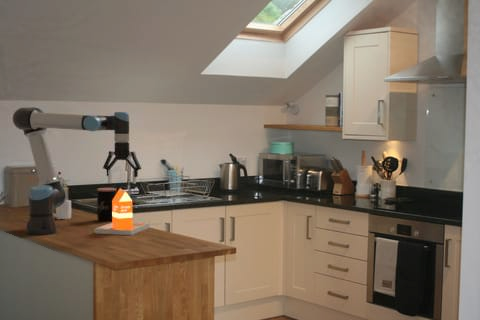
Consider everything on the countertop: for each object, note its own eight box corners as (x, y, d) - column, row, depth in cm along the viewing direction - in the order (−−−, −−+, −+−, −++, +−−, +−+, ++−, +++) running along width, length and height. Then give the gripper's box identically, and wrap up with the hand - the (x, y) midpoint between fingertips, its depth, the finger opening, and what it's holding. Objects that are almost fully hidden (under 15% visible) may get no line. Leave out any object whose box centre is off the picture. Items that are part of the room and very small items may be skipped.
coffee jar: (93, 220, 392) (93, 188, 391) (109, 218, 400) (108, 187, 399) (105, 222, 385) (104, 190, 384) (120, 220, 393) (120, 188, 392)
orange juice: (118, 230, 354) (118, 191, 353) (112, 227, 362) (111, 189, 360) (132, 228, 358) (132, 190, 357) (126, 226, 366) (125, 188, 364)
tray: (131, 235, 346) (131, 230, 346) (94, 233, 351) (94, 228, 351) (149, 227, 369) (149, 223, 369) (114, 225, 374) (114, 221, 374)
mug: (53, 220, 391) (53, 202, 390) (47, 218, 397) (47, 201, 396) (73, 218, 398) (73, 200, 397) (67, 217, 404) (67, 199, 404)
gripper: (147, 142, 357) (147, 183, 359) (102, 141, 364) (103, 181, 365) (141, 142, 350) (141, 184, 351) (96, 141, 356) (96, 182, 358)
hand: (122, 183), depth 358 cm, fingers open, 13 cm apart
